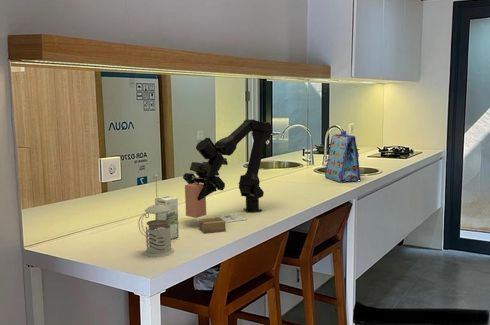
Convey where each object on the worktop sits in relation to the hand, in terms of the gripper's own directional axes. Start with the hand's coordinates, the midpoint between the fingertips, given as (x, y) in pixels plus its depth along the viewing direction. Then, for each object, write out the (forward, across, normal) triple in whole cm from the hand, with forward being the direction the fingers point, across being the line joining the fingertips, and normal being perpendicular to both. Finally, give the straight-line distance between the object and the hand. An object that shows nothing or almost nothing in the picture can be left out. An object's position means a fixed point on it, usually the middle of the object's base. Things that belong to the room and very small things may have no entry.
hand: (192, 199), depth 191 cm
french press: (+29, +15, -13) cm, 35 cm away
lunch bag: (-83, -12, +100) cm, 130 cm away
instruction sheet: (-5, +2, +20) cm, 21 cm away
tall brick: (+4, 0, +6) cm, 7 cm away
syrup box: (+20, +5, -4) cm, 21 cm away
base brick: (+7, +9, +8) cm, 14 cm away
